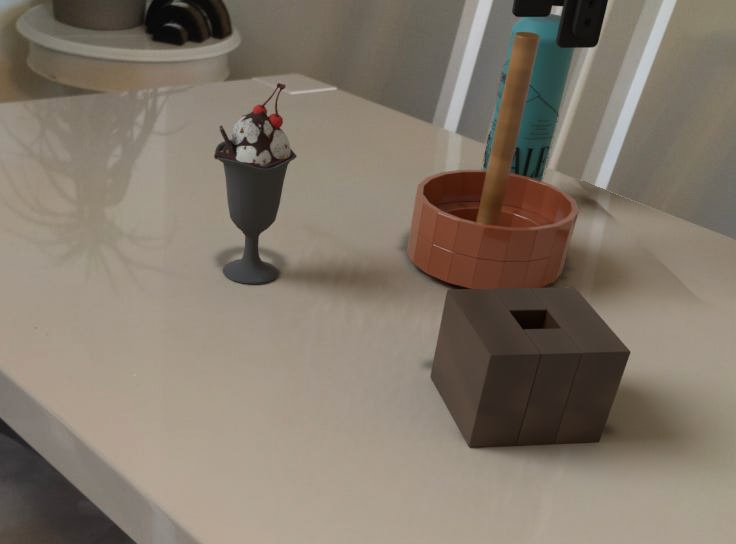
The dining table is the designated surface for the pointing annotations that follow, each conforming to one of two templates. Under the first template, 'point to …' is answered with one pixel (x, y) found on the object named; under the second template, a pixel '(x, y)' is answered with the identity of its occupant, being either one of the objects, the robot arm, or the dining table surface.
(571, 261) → the dining table surface
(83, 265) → the dining table surface
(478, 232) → the bowl
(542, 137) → the beverage bottle
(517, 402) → the holder
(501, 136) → the stick
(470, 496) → the dining table surface
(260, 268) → the sundae
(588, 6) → the robot arm
